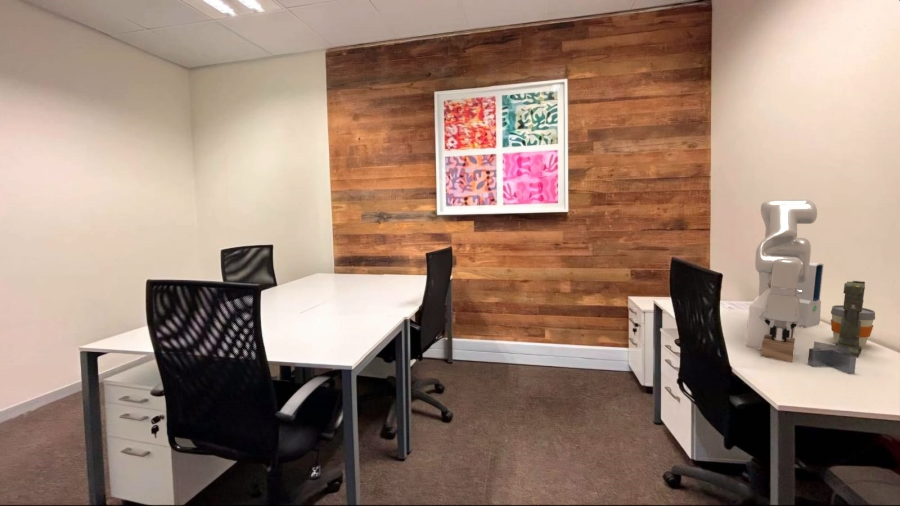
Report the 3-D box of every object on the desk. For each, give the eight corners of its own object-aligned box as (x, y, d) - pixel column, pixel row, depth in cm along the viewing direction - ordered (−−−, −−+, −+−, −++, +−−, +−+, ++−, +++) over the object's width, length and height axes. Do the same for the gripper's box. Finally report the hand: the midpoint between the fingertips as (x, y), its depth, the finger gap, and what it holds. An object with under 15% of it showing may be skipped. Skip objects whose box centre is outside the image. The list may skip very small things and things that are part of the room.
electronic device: (806, 328, 179) (812, 264, 176) (786, 323, 186) (792, 262, 183) (820, 324, 184) (826, 262, 181) (801, 320, 191) (807, 260, 187)
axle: (772, 352, 151) (775, 325, 150) (782, 354, 149) (785, 327, 148) (772, 354, 149) (774, 327, 148) (782, 356, 147) (784, 329, 146)
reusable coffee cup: (832, 337, 167) (835, 303, 165) (874, 345, 157) (879, 309, 155) (823, 343, 160) (827, 308, 158) (867, 352, 150) (872, 315, 148)
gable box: (753, 333, 174) (759, 272, 171) (792, 340, 165) (799, 276, 162) (745, 347, 159) (751, 280, 155) (788, 355, 149) (795, 284, 146)
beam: (763, 347, 157) (765, 333, 156) (793, 353, 151) (794, 338, 150) (761, 356, 148) (762, 341, 147) (792, 362, 142) (794, 346, 141)
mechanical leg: (835, 341, 160) (842, 274, 151) (860, 345, 155) (869, 276, 146) (833, 358, 151) (841, 288, 142) (860, 363, 146) (870, 291, 137)
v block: (807, 355, 148) (809, 340, 147) (851, 363, 140) (853, 348, 139) (807, 365, 139) (809, 349, 138) (854, 374, 131) (856, 357, 130)
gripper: (812, 292, 143) (807, 340, 146) (756, 287, 155) (753, 331, 157) (812, 296, 138) (807, 345, 140) (754, 290, 149) (751, 336, 151)
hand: (779, 337), depth 148 cm, fingers closed on axle, 3 cm apart
